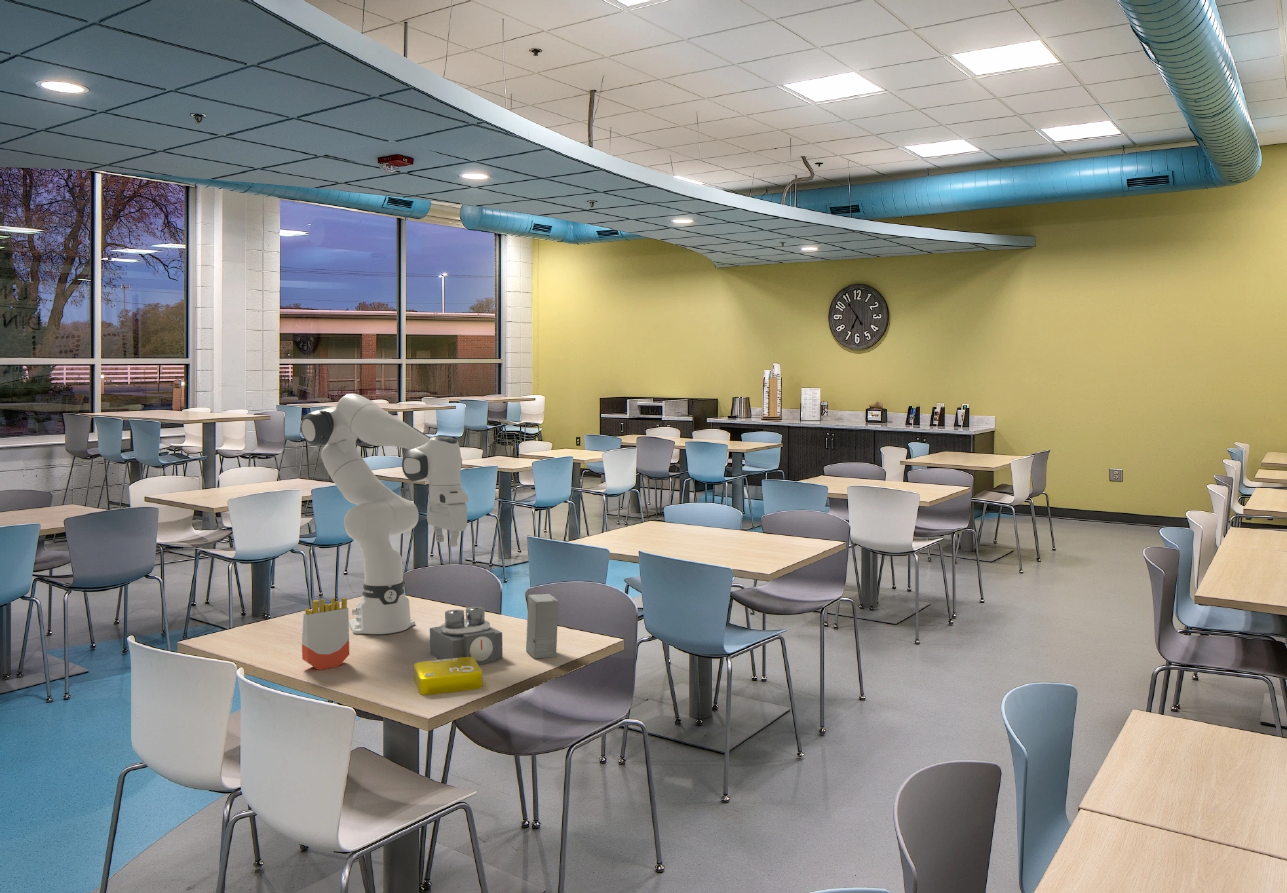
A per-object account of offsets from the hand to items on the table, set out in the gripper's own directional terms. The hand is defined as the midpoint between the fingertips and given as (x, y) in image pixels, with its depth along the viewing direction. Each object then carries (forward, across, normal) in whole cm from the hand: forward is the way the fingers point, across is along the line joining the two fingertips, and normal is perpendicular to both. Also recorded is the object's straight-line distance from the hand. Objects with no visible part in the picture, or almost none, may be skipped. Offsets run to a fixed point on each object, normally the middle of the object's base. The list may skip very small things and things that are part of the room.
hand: (446, 543), depth 248 cm
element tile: (+30, +30, -12) cm, 44 cm away
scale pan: (+22, +11, 0) cm, 24 cm away
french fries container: (+29, -2, -33) cm, 44 cm away
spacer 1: (+21, +11, -2) cm, 24 cm away
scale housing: (+29, +12, +1) cm, 31 cm away
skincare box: (+29, +22, +18) cm, 41 cm away
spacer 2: (+21, +11, +3) cm, 24 cm away
